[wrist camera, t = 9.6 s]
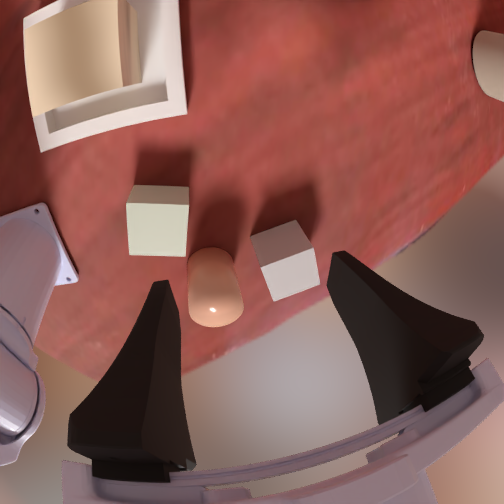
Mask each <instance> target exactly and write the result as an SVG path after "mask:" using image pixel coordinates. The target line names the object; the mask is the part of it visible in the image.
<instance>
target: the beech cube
mask: <svg viewBox="0 0 504 504" xmlns="http://www.w3.org/2000/svg"><path fill="white" fill-rule="evenodd" d="M24 43H25V62H26V74H27V83H28V91H29V98H30V105H31V111H32V116H33V117H35V116H38V115H40V114H42V113H45V112H47V111H50V110H52V109H55V108H57V107H60V106H63V105H65V104H68V103H71V102H74V101H77V100H80V99H83V98H86V97H89V96H92V95H96V94H99V93H102V92H106V91H110V90H113V89H117V88H121V87H125V86H129V85H134V84H138V83H142V78H141V67H140V55H139V41H138V21H137V11H136V10H135V9H134V8H133V7H132V6H131V5H130V4H129V3H128V2H127V1H126V0H90V1H87V2H84V3H82V4H79V5H76V6H74V7H71V8H69V9H66V10H64V11H62V12H59V13H57V14H55V15H53V16H51V17H48V18H46V19H44V20H42V21H40V22H38V23H36V24H34V25H32V26H31V27H29V28H27V29H25V30H24Z"/></svg>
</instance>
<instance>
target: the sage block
mask: <svg viewBox="0 0 504 504" xmlns="http://www.w3.org/2000/svg"><path fill="white" fill-rule="evenodd" d="M126 209H127V229H128V243H129V254H130V255H151V256H184V257H185V256H186V239H187V225H188V212H189V187H180V186H155V185H134V186H133V188H132V190H131V193H130V195H129V198H128V200H127V202H126Z"/></svg>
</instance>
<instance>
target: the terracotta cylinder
mask: <svg viewBox="0 0 504 504" xmlns="http://www.w3.org/2000/svg"><path fill="white" fill-rule="evenodd" d="M187 282H188V302H189V314H190V316H191V318H192V319H193V320H194V321H195V322H196V323H198V324H200V325H203V326H207V327H220V326H224V325H227V324H230V323H232V322H234V321H235V320H236V319H238V318H239V317H240V315H241V314H242V312H243V309H244V305H243V300H242V296H241V292H240V288H239V284H238V280H237V276H236V271H235V267H234V263H233V259H232V257H231V256H230V254H229V253H228V252H226V251H225V250H223V249H220V248H216V247H207V248H203V249H200V250H198V251H196V252H195V253H193V254H192V255H191V257H190V258H189V260H188V262H187Z"/></svg>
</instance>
